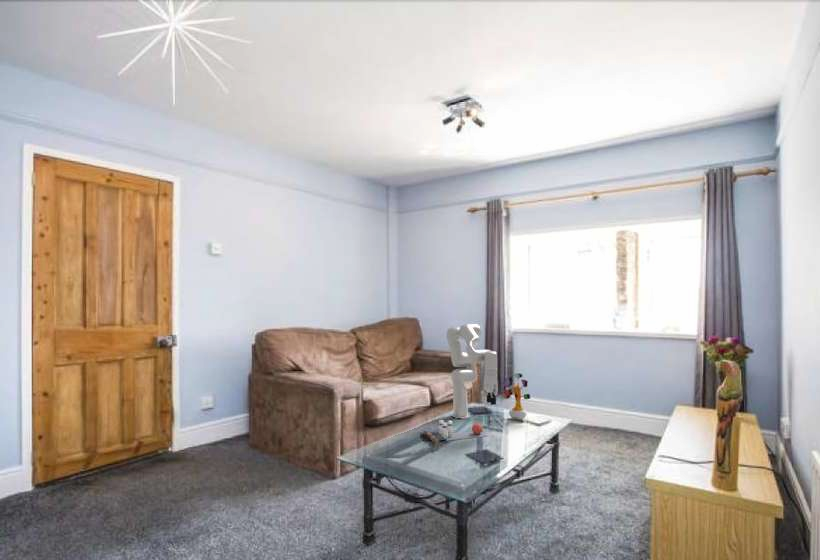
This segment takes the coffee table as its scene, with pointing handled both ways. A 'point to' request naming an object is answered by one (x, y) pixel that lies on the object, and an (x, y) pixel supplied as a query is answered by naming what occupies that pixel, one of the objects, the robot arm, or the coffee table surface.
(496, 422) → the coffee table surface
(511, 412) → the decorative sculpture
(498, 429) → the coffee table surface
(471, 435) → the lane
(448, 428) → the pin front
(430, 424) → the coffee table surface
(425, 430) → the back wall
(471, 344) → the robot arm
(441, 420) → the pin
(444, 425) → the pin
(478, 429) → the ball
